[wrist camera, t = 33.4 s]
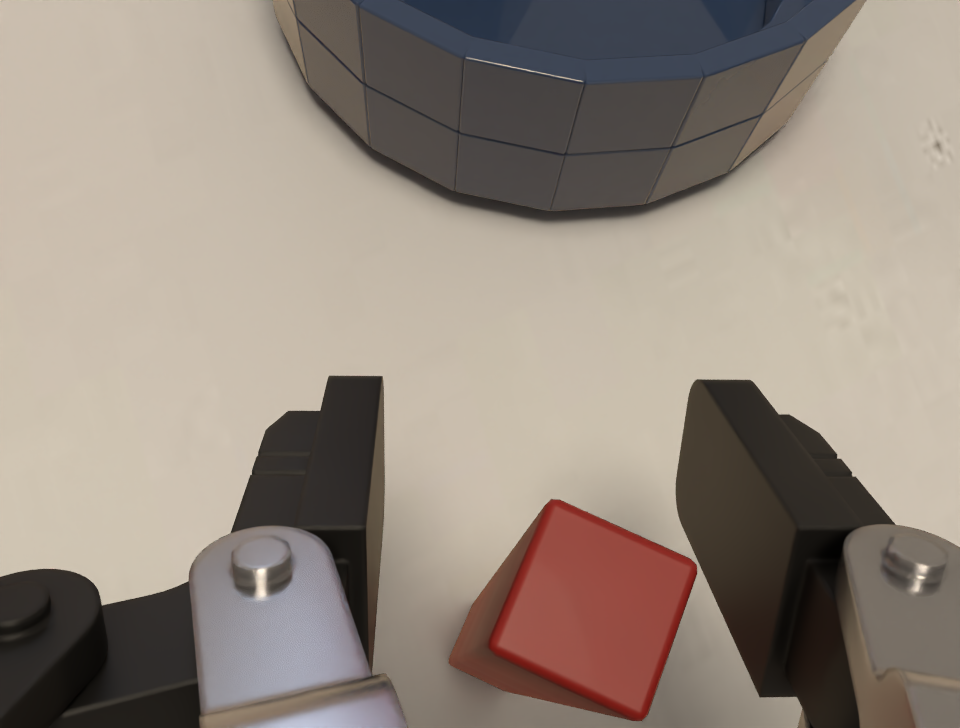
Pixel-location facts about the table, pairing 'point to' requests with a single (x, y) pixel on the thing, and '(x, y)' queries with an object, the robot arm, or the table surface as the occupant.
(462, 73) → the bowl
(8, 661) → the robot arm
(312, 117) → the table surface
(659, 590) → the red square peg
